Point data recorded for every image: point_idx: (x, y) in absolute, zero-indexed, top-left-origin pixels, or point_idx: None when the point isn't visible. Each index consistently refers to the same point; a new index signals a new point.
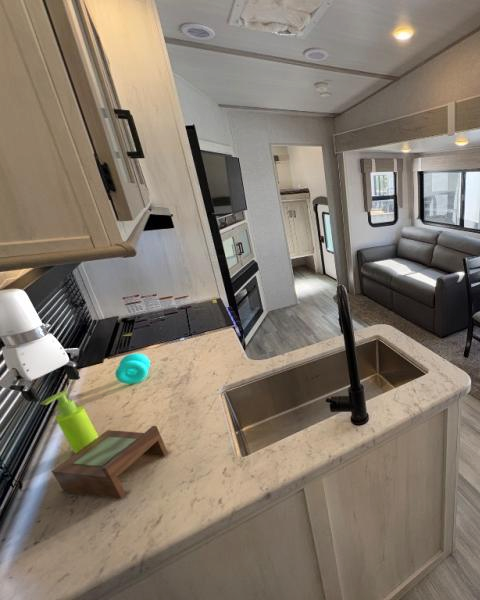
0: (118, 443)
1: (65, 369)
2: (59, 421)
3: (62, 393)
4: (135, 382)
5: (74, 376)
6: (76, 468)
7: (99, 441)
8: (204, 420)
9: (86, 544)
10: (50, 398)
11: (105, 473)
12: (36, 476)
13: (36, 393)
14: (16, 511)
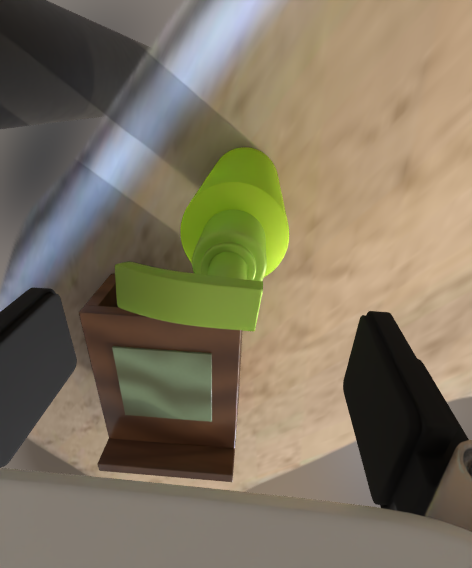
0: (192, 396)
1: (398, 433)
2: (181, 236)
3: (226, 325)
4: None
5: (353, 403)
6: (105, 365)
7: (193, 340)
8: (342, 415)
9: (60, 404)
10: (163, 303)
11: (104, 450)
12: (122, 131)
13: (38, 417)
14: (41, 215)
